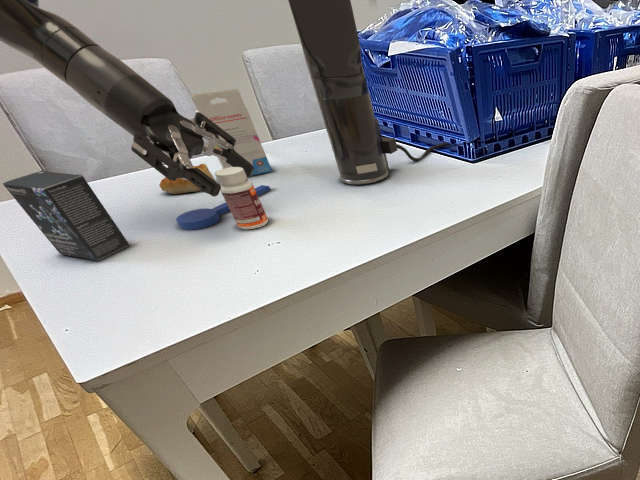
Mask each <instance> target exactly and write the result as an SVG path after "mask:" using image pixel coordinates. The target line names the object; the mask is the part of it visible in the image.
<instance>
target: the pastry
mask: <svg viewBox="0 0 640 480" xmlns="http://www.w3.org/2000/svg"><path fill="white" fill-rule="evenodd" d="M195 167H197V168H198V169H200V170H201V171H202V172H204V173H205V174H206V175H208V176H209V177H210V178H212V179H213V180H214V181H216V179H215V177H214V175H213V174H212V173H211V171H210V169H209V168H208V166H207V164H206V163H200V164H199V165H193V168H195ZM158 185H159V188H160V189H161V191H163V192H165V193H168V194H173V195H181V194H188V193H191V192H192V193H196V192H201V191H202V190H201V189H200V188H199V187H197V186H196V185H194V184H193V183H192V182H190V181H189V180H184V179H182V178H176V180H175V181H171V180H169V179H168V178H166V177H165V176H164V178H162V179H161V180H160V183H159V184H158Z"/></svg>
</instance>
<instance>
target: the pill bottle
mask: <svg viewBox="0 0 640 480" xmlns="http://www.w3.org/2000/svg"><path fill="white" fill-rule="evenodd" d="M214 175H215V177H216V179H217V181H218V184H219V185H220V186H221V189H220V193H221V195H222V197H223V199H224V201H225V202H226V203H227V205H228V207H229V209H230V210H229V211H230V213H231V215H232V217H233V219H234V221H235V223H236V225H237V227H238V228H239V229H241V230H253V229H259V228H262V227H264V226H265V225H267V224H268V222H269V218H268V216H267V213H266V211H265V209H264V206H263V204H262V202H261V199H260V197H259V196H258V195H257V193H256V190H255V188H256V187H255V186H254V184H253V182H252V181H251V180H249V179H248V178H247V176H246V174H245V171H244V169H243V168H241V167H230V168H224V169H223V168H220V169H219V170H218V169H217V170H216V171H215V173H214Z"/></svg>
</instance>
